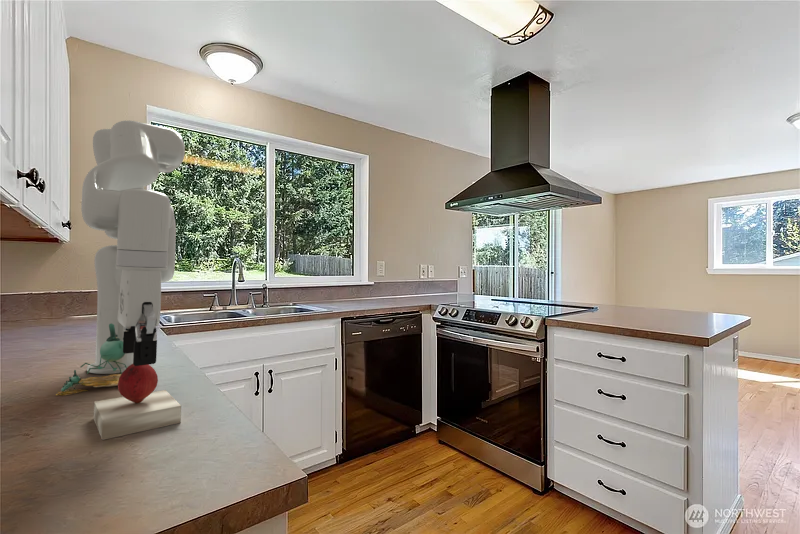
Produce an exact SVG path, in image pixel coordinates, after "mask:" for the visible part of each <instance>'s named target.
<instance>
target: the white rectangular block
mask: <svg viewBox="0 0 800 534" xmlns="http://www.w3.org/2000/svg"><path fill="white" fill-rule="evenodd" d="M93 420H94V421H93V422H94V424H95V425H96V429H97V431H98V434H99V436H100V438H101V440H102V441H103V440H109V439H113V438H117V437H122V436H127V435H130V434H136V433H140V432H144V431H149V430H154V429H158V428H159V429H160V428H164V427H168V426H172V425H176V424H181V421H182V405H181V404H180V403H179V402H178V401H177V400H176V399H175V398H174V397H173V396H172V395H171V394H170V393H169V392H168V391H167V390H166V389H163V390H157V391H153V392H152V393H151V394H150V395H149V396H147V397H146V398H145V399H144V400H143V401H142V402H140V403H134V402H132V401H130V400H128V399H126V398H124V397H123V396H120V397H114V398H108V399H107V398H106V399H102V400H95V401H94V402H93Z"/></svg>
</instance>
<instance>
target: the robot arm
mask: <svg viewBox="0 0 800 534" xmlns="http://www.w3.org/2000/svg"><path fill="white" fill-rule="evenodd" d="M185 149H186V146H185V143H184V140H183V137H182V135H181V134H180V133H179V132H177V131H176V130H174V129H171V128H167V127H164V126H160V125H159V126H158V125H155V124H154V125H153V124H151V123H150V124H149V123H145V122H141V121H135V120H120V121H118V122H116V123H114V125H112V127H111V128H103V129H99V130H96V131H95V132H94V134H93V137H92V150H93V156H94V158H95V162H96V165H95V166H94V167H92V168H91V169H90V170H89V172H87V174H86V175H85V178H84V180H83V183H82V187H81V208H80V209H81V217H82V220H83V221H84V224H86V225H87V226H88V227H89V228H91V229H93V230H95V231H104V233H105V235H106V236H107V237H108V238H111V239H114V240H116V244H112V245H106V246H103V247H101V248H99V249H98V250H97V251H96V253H95V255H94V271H95V275H96V276H95V277H96V285H97V289H96V290H97V300H96V301H97V302H96V303H97V305H96V308H97V309H96V311H97V312H96V330H95V331H96V336H95V337H96V338H95V361H94V362H93V363H90V364H91V365H94V366H98V365H99V364H100V358H101V355H100V349H101V346H102V345H103V344H104V343H105V342H106V340H107V339H108V338H109V337H110V330H109V324H111V323H112V324H114V327H115V333H116V334H117V335H118V337H116V338H119V339H120V340H121V341H123V353H125V355H124V356H123V357H122V358H121V359H119V360H117V361H116V362H120V363H124V364H125V365H126V367H129V366H130V365H131V364H134V366H141V365H154V364H156V362H157V354H158V353H157V351H158V350H157V349H158V336H157V335H158V334H157V326H159V324H160V321H161V312H162V311H161V310H162V309H161V307H162V305H161V304H162V283H166V282H170V281H171V280H172V279H173V277H174V275H175V269H176V268H175V267H176V236H177V235H176V234H177V233H176V232H177V229H176V228H177V227H176V226H177V224H176V219H175V218H176V217H175V213H174V212H175V211H174V207H173V206H172V205H171V201H170V199H169V197H168V195H166V194H165V193H163V192H159V191H156V190H151V189H145V187H147V186H150V185H151V184H153V183H154V182H155V181H157V179H158V177H159V174H160V173H166V174H167V173H172V172H173V171H174V170H176V169H177V168H179V167H180V166H181V165H182V163H183V161H184V159H185V155H186V154H185V153H186V150H185ZM105 361H106V360H103V359H102V358H101V364H102V363H103V362H105ZM109 363H110V364H111V365H112V366H113V368H117V369H116V371H113V368H112V367H111V366H110V364H109ZM109 363H108V362H107V364H106V362H105V363H104V364H102V365H100V367H104V366H105V364H106V366H105V368H102V369H90V371H89V373H90V374H96V375H111V374H121V373H120V369H121V372H122V373H123V371H124V370H126V367H125V365H123V364H120V363H117V364H118V365H119V366H120V369H119V367H118V366H117V364H116V363H115V362H109ZM91 365H87V366H86V371H87V372H88V370H89V368H97V367H94V366H91Z"/></svg>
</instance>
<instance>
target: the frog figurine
mask: <svg viewBox="0 0 800 534" xmlns="http://www.w3.org/2000/svg"><path fill="white" fill-rule="evenodd" d="M109 330H110V337H109V338H108V339H107V340H106V342H105V343H104V344H103V345H102V346H101V349H100V355H101V358H102V359H103V360H106V361H105V362H106V364H107V362H108V363H109V362H115V363H116V364H117V363H120V362H116V361H117V360H119V359H121V358H122V357H123V356H124V355H125V353H123V341H121V340H120V339H119V338H116V337H118V335H117V334H116V333H115V327H114V324H112V323H111V324H109ZM101 358H100V364H99V365H98V366H94V365H91V364H92V363H88V362H84V363H83V364H82V365H81V366H80V367H79V368H80V369H81V368H83V367H84V366H85V365H87V366H88V365H91V366H94V367H97V368H89V370H88V371H87V372H86V374H87V375H88V374H89V373H90V372H89V371H90V369H102V368H105V366H106V364H105V366H104V367H100V365H102V364H104V363H105V362H103V363H102V364H101ZM109 364H110V363H109ZM120 364H123V365H125V364H124V363H120ZM110 366H111V367H112V368H113V366H112V365H111V364H110ZM117 366H118V367H119V369H120V366H119V365H118V364H117ZM125 367H126V365H125ZM126 368H127V367H126ZM116 369H117V368H113V371H116ZM121 374H122V372H121V369H120V373H114V374H108V375H106V376H105V375H103V376H94V377H93V376H90V377H86V378H81V377H80V375H78V373H77V370H76V369H74V370H73V375H72V376H68V380H66V381H65V383H64V384H63V385H62V387H61V389H60V391H57V393H56V394H55V396H62V397H63V396H69V395H74V394H79V393H82V392H86V391H87V392H88V391H89V390H88V389H83V388H82V389H79V388H78V389H77V388H76V387H77V386H78V385H81V386H85V387H93V388H103V387H109V388H110V387H115V386H117V387H118V381H119V378H120V376H121Z"/></svg>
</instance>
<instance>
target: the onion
mask: <svg viewBox="0 0 800 534" xmlns="http://www.w3.org/2000/svg"><path fill="white" fill-rule="evenodd" d="M120 374H121V373H120ZM158 382H159V378H158V374H157V372H156V370H155V368H153V366H152V365H151V364H149V365H141V366H134V364H131V365H130V366H129V367H127V368H126V370H124V371H123V373H122V374H121V376H120V378H119V381H118V385H117V389H118V392H119V393H120V396H121V397H124V398H126V399H128V400H130V401H132V402H134V403H140V402H142V401H143V400H144V399H145V398H146V397H147V396H149V395H150V394H151V393H152V392H155V389H156V388H157V386H158Z"/></svg>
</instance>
